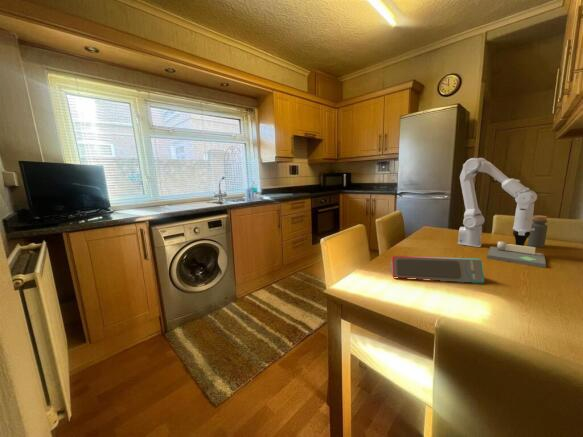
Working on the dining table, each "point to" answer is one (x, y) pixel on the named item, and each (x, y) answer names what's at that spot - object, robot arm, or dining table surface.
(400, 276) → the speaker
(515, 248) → the peg lever
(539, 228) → the bottle
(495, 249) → the board
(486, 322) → the dining table surface
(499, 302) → the dining table surface
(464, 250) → the dining table surface
